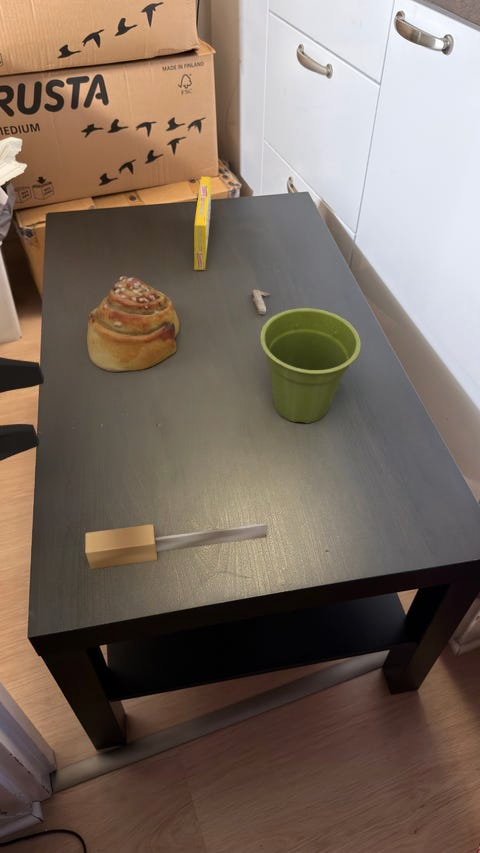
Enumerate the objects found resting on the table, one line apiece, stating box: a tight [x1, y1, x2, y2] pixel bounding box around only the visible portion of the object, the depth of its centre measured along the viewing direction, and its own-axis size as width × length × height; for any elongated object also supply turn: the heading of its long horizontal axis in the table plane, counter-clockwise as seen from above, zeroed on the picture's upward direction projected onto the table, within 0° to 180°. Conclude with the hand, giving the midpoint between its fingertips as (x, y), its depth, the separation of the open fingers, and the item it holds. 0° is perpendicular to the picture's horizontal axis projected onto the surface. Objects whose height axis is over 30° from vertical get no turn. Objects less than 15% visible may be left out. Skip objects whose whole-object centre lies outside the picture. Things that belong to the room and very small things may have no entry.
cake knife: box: [84, 522, 268, 570], centre depth 66 cm, size 19×2×3 cm, turn 99°
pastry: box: [86, 276, 181, 373], centre depth 88 cm, size 13×15×8 cm
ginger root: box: [251, 289, 271, 315], centre depth 96 cm, size 6×1×3 cm
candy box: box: [193, 176, 212, 271], centre depth 104 cm, size 16×2×8 cm, turn 179°
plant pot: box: [259, 307, 362, 424], centre depth 78 cm, size 12×12×11 cm
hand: (38, 402), depth 54 cm, fingers open, 7 cm apart
